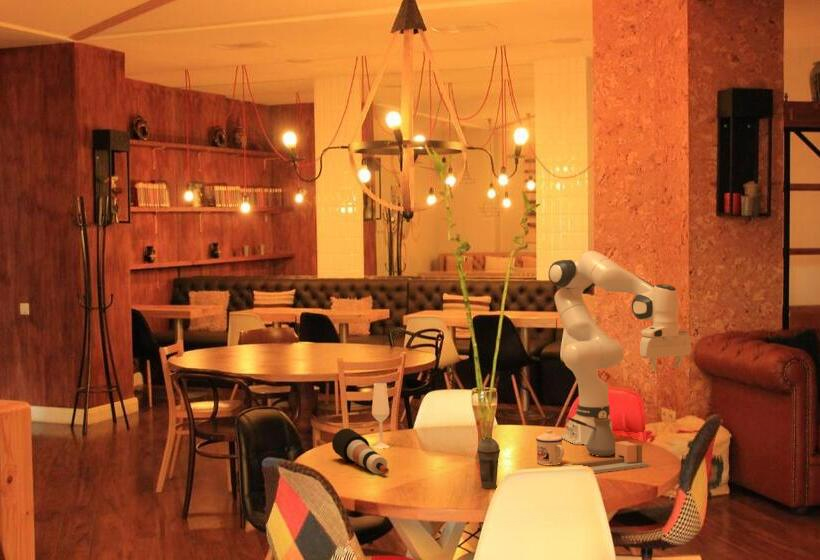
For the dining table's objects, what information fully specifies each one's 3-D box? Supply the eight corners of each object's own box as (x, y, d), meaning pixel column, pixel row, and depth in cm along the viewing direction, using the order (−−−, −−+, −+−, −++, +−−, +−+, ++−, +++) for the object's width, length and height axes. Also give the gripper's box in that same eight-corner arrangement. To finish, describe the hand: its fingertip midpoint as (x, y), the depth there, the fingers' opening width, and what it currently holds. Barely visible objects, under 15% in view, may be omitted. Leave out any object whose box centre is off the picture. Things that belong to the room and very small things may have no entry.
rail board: (563, 467, 356) (563, 447, 356) (625, 460, 367) (625, 439, 367) (583, 475, 346) (583, 453, 345) (647, 466, 356) (647, 445, 356)
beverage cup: (499, 483, 336) (498, 422, 335) (501, 489, 328) (501, 426, 327) (476, 484, 335) (475, 422, 334) (478, 489, 328) (477, 426, 327)
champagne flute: (389, 448, 392) (388, 385, 391) (371, 448, 392) (370, 385, 391) (390, 445, 399) (389, 382, 398) (372, 445, 399) (371, 382, 398)
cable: (379, 491, 347) (367, 466, 343) (339, 461, 377) (327, 438, 373) (404, 474, 350) (392, 450, 347) (362, 445, 380) (351, 423, 377)
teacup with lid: (531, 462, 366) (530, 429, 365) (551, 459, 370) (551, 426, 370) (552, 468, 355) (552, 435, 355) (573, 465, 360) (573, 431, 360)
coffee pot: (605, 450, 384) (605, 409, 384) (625, 455, 374) (625, 414, 373) (557, 456, 375) (556, 415, 374) (576, 462, 364) (575, 420, 364)
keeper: (615, 459, 362) (615, 442, 362) (624, 457, 364) (624, 441, 364) (627, 462, 356) (627, 445, 356) (636, 461, 358) (636, 444, 357)
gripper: (683, 328, 377) (683, 366, 378) (637, 331, 369) (637, 370, 369) (695, 329, 372) (695, 368, 372) (648, 332, 363) (648, 372, 364)
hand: (665, 369), depth 371 cm, fingers open, 8 cm apart
